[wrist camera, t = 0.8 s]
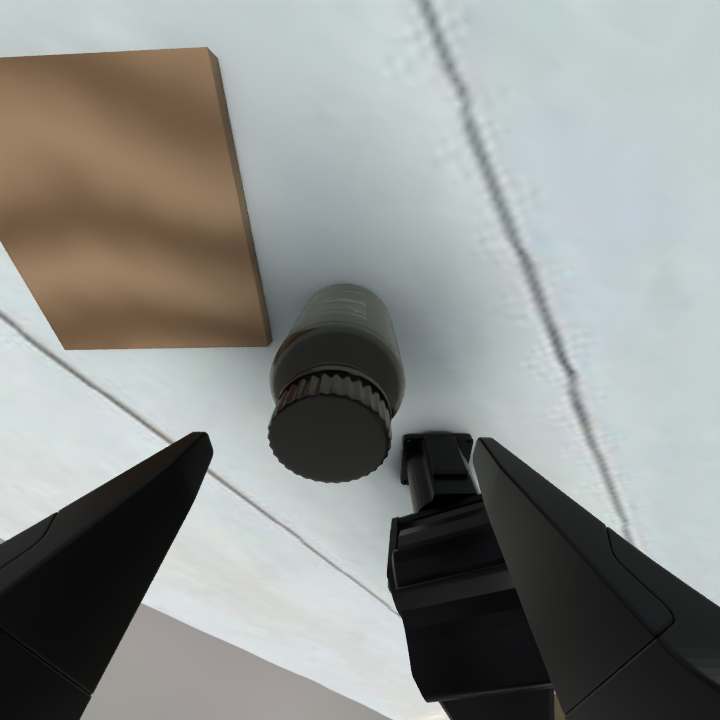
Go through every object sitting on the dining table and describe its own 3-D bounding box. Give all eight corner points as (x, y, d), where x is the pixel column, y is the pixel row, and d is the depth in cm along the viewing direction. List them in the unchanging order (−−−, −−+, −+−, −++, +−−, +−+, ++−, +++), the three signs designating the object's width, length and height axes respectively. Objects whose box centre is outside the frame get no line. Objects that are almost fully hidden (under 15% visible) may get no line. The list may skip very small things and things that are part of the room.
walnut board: (272, 341, 21) (268, 346, 21) (77, 344, 22) (64, 349, 21) (217, 58, 14) (207, 47, 13) (-77, 72, 14) (-106, 63, 14)
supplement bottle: (287, 340, 21) (211, 460, 11) (329, 263, 19) (281, 323, 8) (361, 379, 23) (357, 518, 12) (409, 314, 20) (458, 421, 10)
